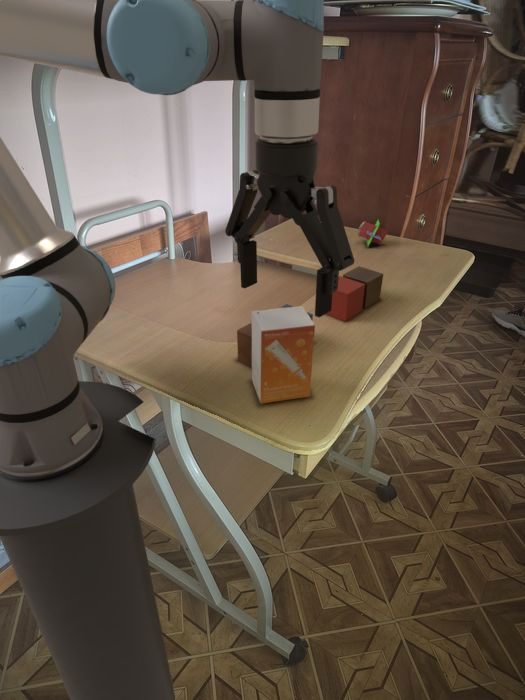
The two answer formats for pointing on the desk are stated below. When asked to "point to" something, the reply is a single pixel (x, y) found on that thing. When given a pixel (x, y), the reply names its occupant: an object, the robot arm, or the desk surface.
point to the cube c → (347, 299)
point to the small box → (282, 353)
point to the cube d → (367, 283)
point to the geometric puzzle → (372, 232)
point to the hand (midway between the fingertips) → (284, 298)
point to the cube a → (245, 344)
